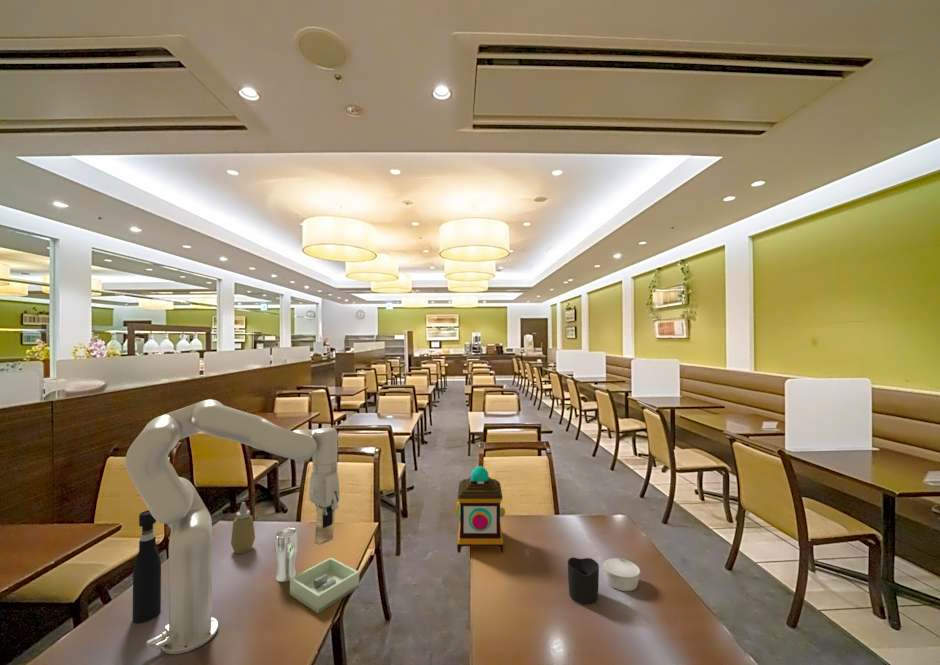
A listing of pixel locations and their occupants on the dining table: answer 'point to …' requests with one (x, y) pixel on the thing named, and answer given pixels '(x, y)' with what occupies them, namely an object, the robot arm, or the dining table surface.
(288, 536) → the metal tumbler
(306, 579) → the pale green prong tray
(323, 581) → the wick clip
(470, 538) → the decorative lantern
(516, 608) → the dining table surface
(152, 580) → the wine bottle
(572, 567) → the pen holder
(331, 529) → the upright wooden plank
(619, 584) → the ramekin
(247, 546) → the squeeze bottle
